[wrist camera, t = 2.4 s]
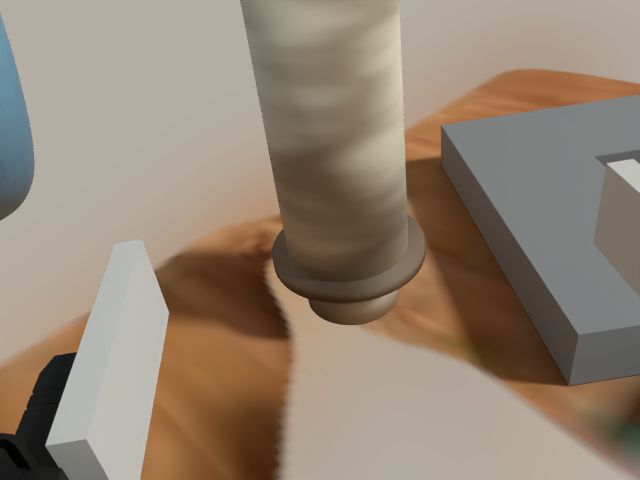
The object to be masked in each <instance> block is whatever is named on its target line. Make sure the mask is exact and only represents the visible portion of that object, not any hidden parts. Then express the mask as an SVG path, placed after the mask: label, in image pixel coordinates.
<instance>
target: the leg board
mask: <svg viewBox="0 0 640 480" xmlns="http://www.w3.org/2000/svg"><path fill="white" fill-rule="evenodd" d="M629 159H634V160H635V161H637V162H638V163H639V164H640V95H633V96H627V97H621V98H614V99H608V100H601V101H595V102H588V103H582V104H575V105H569V106H562V107H556V108H549V109H543V110H536V111H530V112H523V113H517V114H510V115H504V116H497V117H491V118H484V119H478V120H471V121H465V122H458V123H452V124H445V125H441V165H442V167H443V169H444V171H445V172H446V174H447V176H448V177H449V179H450V181H451V183H452V184H453V186H454V188H455V190H456V191H457V193H458V195H459V196H460V198H461V200H462V202H463V203H464V205H465V207H466V209H467V210H468V212H469V214H470V216H471V217H472V219H473V221H474V222H475V224H476V226H477V228H478V229H479V231H480V233H481V235H482V236H483V238H484V240H485V242H486V243H487V245H488V247H489V248H490V250H491V252H492V254H493V255H494V257H495V259H496V261H497V262H498V264H499V266H500V267H501V269H502V271H503V273H504V274H505V276H506V278H507V280H508V281H509V283H510V285H511V287H512V288H513V290H514V292H515V293H516V295H517V297H518V299H519V300H520V302H521V304H522V306H523V307H524V309H525V311H526V313H527V314H528V316H529V318H530V319H531V321H532V323H533V325H534V326H535V328H536V330H537V332H538V333H539V335H540V337H541V339H542V340H543V342H544V344H545V345H546V347H547V349H548V351H549V352H550V354H551V356H552V358H553V359H554V361H555V363H556V364H557V366H558V368H559V370H560V371H561V373H562V375H563V377H564V378H565V380H566V382H567V384H568V385H569V386H571V385H577V384H583V383H589V382H596V381H602V380H608V379H614V378H621V377H627V376H633V375H639V374H640V297H639V296H638V295H637V294H636V293H635V291H634V290H633V289H632V288H631V287H630V286H629V284H628V283H627V282H626V281H625V280H624V279H623V277H622V276H621V275H620V274H619V273H618V272H617V270H616V269H615V268H614V267H613V266H612V265H611V264H610V262H609V261H608V260H607V259H606V258H605V257H604V255H603V254H602V253H601V252H600V251H599V250H598V248H597V247H596V246H595V245H594V244H593V241H594V235H595V229H596V223H597V217H598V211H599V205H600V199H601V193H602V187H603V181H604V175H605V169H606V163H611V162H617V161H623V160H629Z"/></svg>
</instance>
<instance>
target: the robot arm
mask: <svg viewBox="0 0 640 480" xmlns="http://www.w3.org/2000/svg"><path fill="white" fill-rule="evenodd" d="M33 176H34V151H33V141H32V134H31V128H30V123H29V118H28V113H27V108H26V103H25V99H24V95H23V92H22V87H21V83H20V79H19V75H18V71H17V68H16V64H15V60H14V56H13V53H12V49H11V46H10V43H9V40H8V37H7V33H6V30H5V27H4V24H3V21H2V18H1V14H0V220H2V219H4V218H5V217H7V216H8V215H10V214H11V213H13V212H14V211H15V210H16V209H17V208H18V207H19V206H20V205H21V204H22V203H23V201H24V200H25V198H26V196H27V195H28V193H29V190H30V187H31V185H32V181H33ZM593 244H594V245H595V246H596V247H597V248H598V250H599V251H600V252H601V253H602V254H603V255H604V257H605V258H606V259H607V260H608V261H609V262H610V264H611V265H612V266H613V267H614V268H615V269H616V270H617V272H618V273H619V274H620V275H621V276H622V277H623V279H624V280H625V281H626V282H627V283H628V284H629V286H630V287H631V288H632V289H633V290H634V291H635V293H636V294H637V295H638V296H639V297H640V164H639V163H638V162H637V161H635V160H634V159H629V160H623V161H617V162H611V163H606V169H605V175H604V181H603V187H602V193H601V199H600V205H599V211H598V217H597V223H596V229H595V235H594V241H593ZM168 317H169V311H168V309H167V306H166V303H165V300H164V298H163V295H162V292H161V290H160V287H159V284H158V281H157V279H156V276H155V273H154V271H153V268H152V265H151V263H150V260H149V257H148V254H147V252H146V249H145V246H144V243H143V241H142V239H139V240H133V241H127V242H121V243H115V244H114V247H113V250H112V253H111V256H110V258H109V261H108V264H107V267H106V270H105V273H104V276H103V279H102V282H101V285H100V287H99V290H98V293H97V296H96V299H95V302H94V305H93V308H92V311H91V314H90V317H89V319H88V322H87V325H86V328H85V331H84V334H83V337H82V340H81V343H80V346H79V349H78V351H77V352H75V353H69V354H63V355H57V356H54V357H53V359H52V360H51V361H50V362H49V363H48V364H47V366H46V367H45V368H44V369H43V370H42V371H41V373H40V374H39V377H38V379H37V382H36V384H35V387H34V389H33V395H31V397H30V399H29V402H28V404H27V410H25V412H24V414H23V417H22V419H21V422H20V424H19V427H18V429H17V432H16V434H15V435H13V434H5V433H0V480H140V476H141V470H142V465H143V459H144V453H145V448H146V442H147V436H148V431H149V425H150V419H151V413H152V408H153V402H154V396H155V391H156V385H157V379H158V374H159V368H160V362H161V356H162V351H163V345H164V339H165V334H166V328H167V322H168Z"/></svg>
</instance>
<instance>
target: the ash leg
mask: <svg viewBox="0 0 640 480" xmlns="http://www.w3.org/2000/svg"><path fill="white" fill-rule="evenodd" d="M240 1H241V6H242V12H243V17H244V22H245V28H246V33H247V38H248V44H249V49H250V54H251V59H252V65H253V70H254V75H255V81H256V86H257V91H258V96H259V102H260V107H261V112H262V118H263V123H264V128H265V133H266V139H267V144H268V150H269V154H270V160H271V165H272V170H273V176H274V181H275V187H276V192H277V197H278V202H279V208H280V213H281V218H282V224H283V230H282V231H281V232H280V233H279V235H278V236H277V238H276V240H275V242H274V245H273V248H272V258H273V263H274V268H275V272H276V274H277V276H278V278H279V279H280V281H281V282H282V283H283V284H284V285H285V286H286V287H287V288H288V289H290V290H291V291H292V292H294V293H296V294H298V295H300V296H302V297H305V298H307V299H308V300H309V304H310V306H311V308H312V310H313V311H314V312H315V313H316V314H317V315H318V316H319V317H321V318H323V319H324V320H327V321H329V322H332V323H336V324H341V325H358V324H364V323H368V322H371V321H374V320H376V319H378V318H380V317H382V316H384V315H385V314H386V313H388V312H389V311H390V310H391V309H392V308H393V307H394V305H395V304H396V302H397V299H398V295H399V288H401V287H402V286H404V285H405V284H407V283H408V282H409V281H410V280H411V279H412V278H414V276H415V275H416V274H417V273H418V272H419V270H420V268H421V266H422V264H423V262H424V258H425V237H424V234H423V231H422V229H421V227H420V226H419V224H418V223H417V222H416V221H415V220H414V219H413V218H412V217H410V216H409V215H407V193H406V167H405V141H404V118H403V117H404V116H403V90H402V63H401V37H400V13H399V0H240Z"/></svg>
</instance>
